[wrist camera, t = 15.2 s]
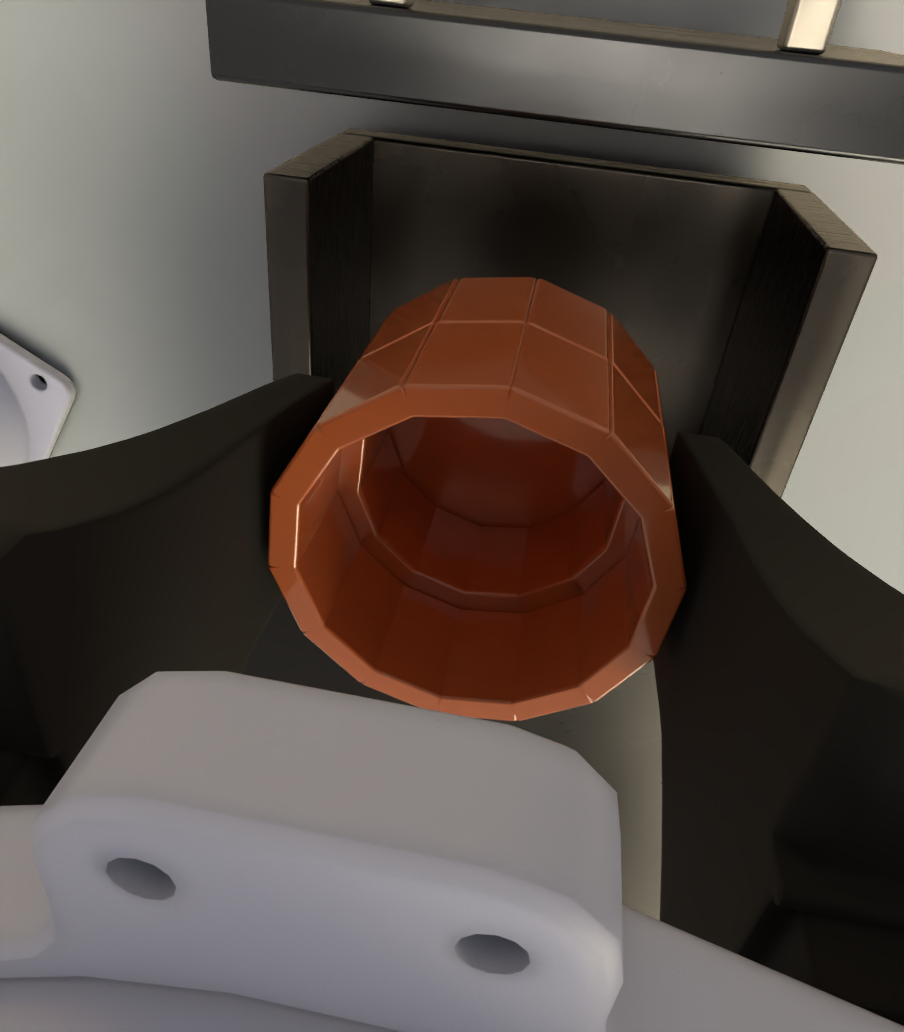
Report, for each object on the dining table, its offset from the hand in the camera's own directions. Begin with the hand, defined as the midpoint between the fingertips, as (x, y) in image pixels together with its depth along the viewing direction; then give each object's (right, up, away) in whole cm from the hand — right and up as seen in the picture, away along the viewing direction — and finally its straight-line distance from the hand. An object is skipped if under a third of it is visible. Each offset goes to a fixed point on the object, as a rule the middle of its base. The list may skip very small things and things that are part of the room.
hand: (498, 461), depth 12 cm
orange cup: (0, +1, +1) cm, 1 cm away
